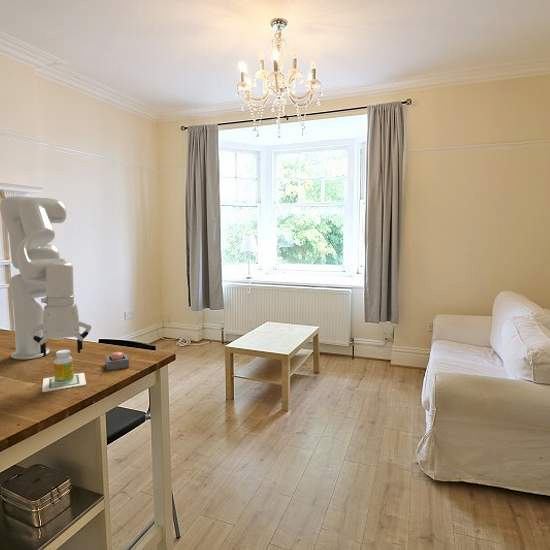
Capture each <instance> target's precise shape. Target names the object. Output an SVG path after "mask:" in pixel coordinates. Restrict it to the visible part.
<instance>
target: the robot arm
mask: <svg viewBox="0 0 550 550" xmlns="http://www.w3.org/2000/svg"><path fill="white" fill-rule="evenodd" d="M0 216H1V218H2V221H3V224H4V226H5V227H6V230H7V232H8V241H9V249H10V258H11V264H12V266H13V268H15V269H16V270H18V272H19V273H18V274H15V275H13V276H11V277H10V278H9V281H8V288H9V292H10V297H11V300H12V308H13V323H14V324H13V325H14V337H15V339H14V340H15V341H14V342H15V351H13V352H12V353H11V356H10V357H11V358H12V359H14V360H24V361H25V360H33V359H38V358H41V357H42V358H45V357H47V355H49V353H50V351H51V350H50V348H49V347H47V342H46V341H48V340H54V339H64V338H74V337H75V338H76V345H77V346H76V348H77V353H78V354H80V353H81V350H83V340H84V339H85V338H86V337H87V336H88V335H89V332H91V329H92V325H91V324H88V323H85V322H83V321H80V319H79V318H80V317H79V311H78V306H77V304H76V303H75V299H74V298H75V296H74V295H75V294H74V291H75V290H74V267H73V264H72V263H71V262H69V261H68V260H67V259H65V258H61V255H60V253H59V250H58V248H57V247H56V246H55V245H54V244H49V243H51V242H52V241H53V240H54V239H55V237H56V233H55V230H54V226H53V224H62V223H64V222H65V221H66V219H67V209H66V207H65V205H64V203H63V202H62V201H61V200H59V199H54V198H48V197H36V196H35V197H33V196H32V197H31V196H18V195H17V196H13V195H12V196H7V197H4V198H2V199H1V200H0ZM38 298H40V302H41V304H45V305H44V307H42V305H41V304H40V303H39V302H37V301H36V299H38ZM80 327H81V328H84V329H85V330H84V331H83V332H81V333H80Z"/></svg>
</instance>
